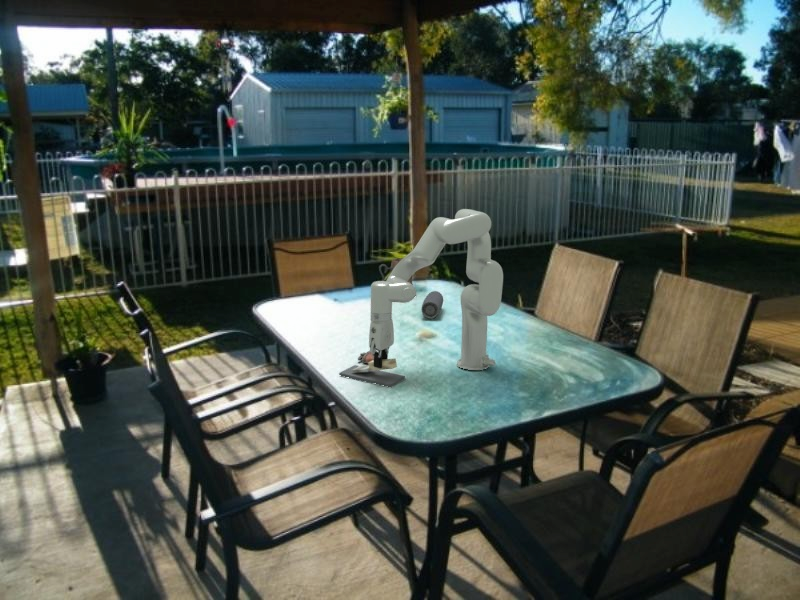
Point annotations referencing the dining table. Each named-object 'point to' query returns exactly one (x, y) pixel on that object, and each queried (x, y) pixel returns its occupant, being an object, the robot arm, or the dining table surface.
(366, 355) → the lighter
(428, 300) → the bluetooth speaker
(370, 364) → the turner
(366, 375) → the mat
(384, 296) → the robot arm
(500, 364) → the dining table surface
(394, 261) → the tankard
